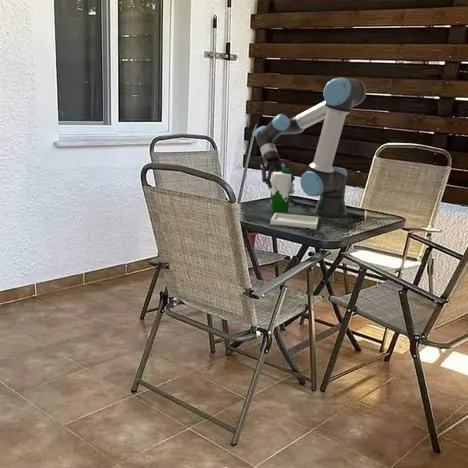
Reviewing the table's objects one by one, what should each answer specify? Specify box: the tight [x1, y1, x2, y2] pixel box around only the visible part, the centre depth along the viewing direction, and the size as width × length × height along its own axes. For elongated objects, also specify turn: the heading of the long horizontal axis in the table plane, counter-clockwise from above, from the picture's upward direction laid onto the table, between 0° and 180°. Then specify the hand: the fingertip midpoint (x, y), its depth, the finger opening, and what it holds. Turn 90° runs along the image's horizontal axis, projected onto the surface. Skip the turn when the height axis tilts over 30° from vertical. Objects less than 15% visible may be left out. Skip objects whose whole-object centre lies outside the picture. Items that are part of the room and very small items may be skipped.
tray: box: [269, 212, 319, 230], centre depth 272 cm, size 20×16×2 cm
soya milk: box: [269, 167, 292, 213], centre depth 287 cm, size 9×9×20 cm
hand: (283, 193), depth 285 cm, fingers closed on soya milk, 9 cm apart
